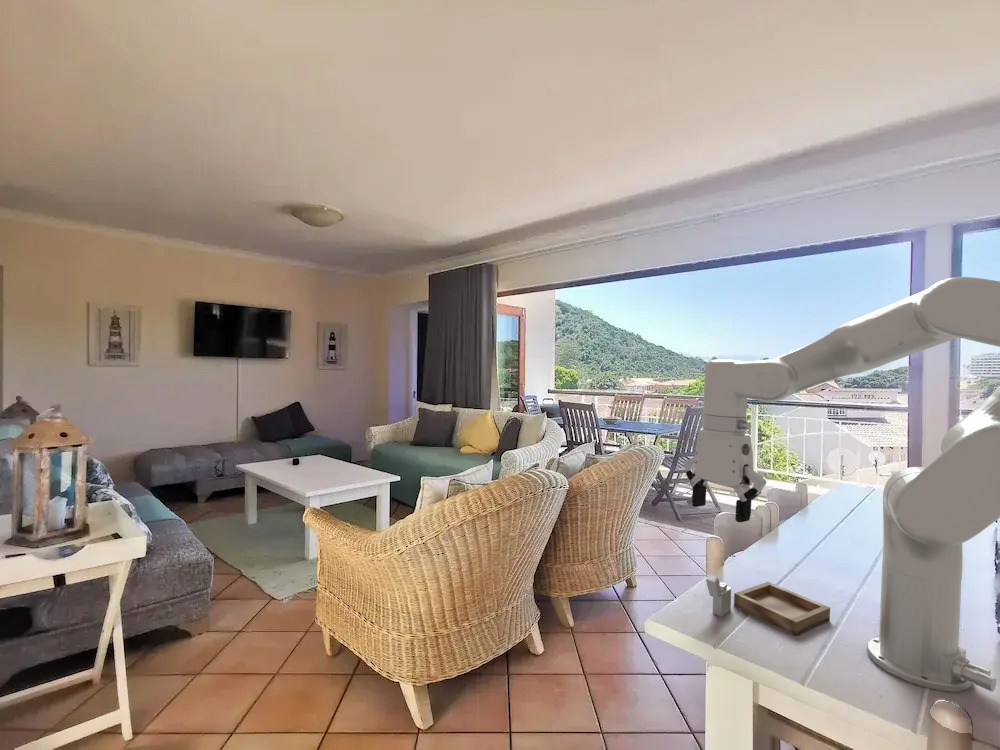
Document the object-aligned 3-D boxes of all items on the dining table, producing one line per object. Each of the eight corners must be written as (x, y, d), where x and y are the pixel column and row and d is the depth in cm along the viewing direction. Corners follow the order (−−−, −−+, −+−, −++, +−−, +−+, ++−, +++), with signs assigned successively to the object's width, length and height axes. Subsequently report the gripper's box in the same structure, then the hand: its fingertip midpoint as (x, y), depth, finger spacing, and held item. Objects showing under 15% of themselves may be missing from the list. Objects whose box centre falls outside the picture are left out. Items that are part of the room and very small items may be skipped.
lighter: (722, 606, 96) (723, 565, 96) (730, 609, 95) (732, 568, 94) (704, 618, 91) (705, 575, 91) (713, 621, 90) (715, 579, 90)
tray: (829, 620, 91) (830, 607, 91) (795, 636, 86) (796, 622, 86) (767, 593, 101) (767, 581, 101) (733, 605, 96) (734, 593, 96)
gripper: (780, 430, 87) (775, 525, 88) (699, 418, 102) (696, 498, 103) (753, 432, 83) (748, 530, 84) (674, 419, 99) (670, 502, 99)
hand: (719, 513), depth 94 cm, fingers open, 9 cm apart
